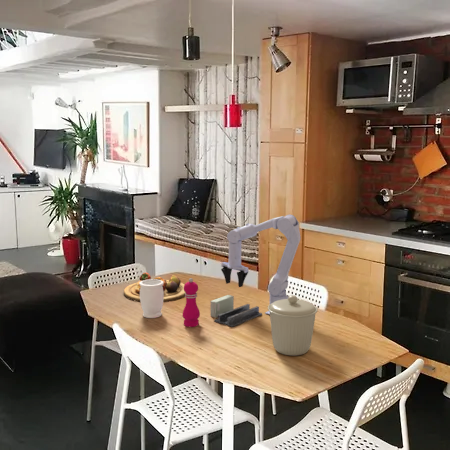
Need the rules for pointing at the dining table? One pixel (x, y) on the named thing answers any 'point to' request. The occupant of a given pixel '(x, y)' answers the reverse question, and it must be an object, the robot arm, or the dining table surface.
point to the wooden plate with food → (170, 287)
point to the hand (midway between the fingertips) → (234, 284)
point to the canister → (292, 325)
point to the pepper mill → (191, 304)
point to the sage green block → (222, 305)
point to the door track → (238, 315)
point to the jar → (151, 297)
